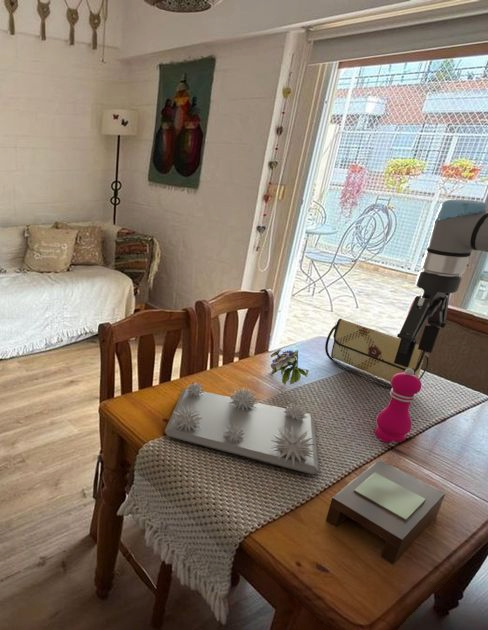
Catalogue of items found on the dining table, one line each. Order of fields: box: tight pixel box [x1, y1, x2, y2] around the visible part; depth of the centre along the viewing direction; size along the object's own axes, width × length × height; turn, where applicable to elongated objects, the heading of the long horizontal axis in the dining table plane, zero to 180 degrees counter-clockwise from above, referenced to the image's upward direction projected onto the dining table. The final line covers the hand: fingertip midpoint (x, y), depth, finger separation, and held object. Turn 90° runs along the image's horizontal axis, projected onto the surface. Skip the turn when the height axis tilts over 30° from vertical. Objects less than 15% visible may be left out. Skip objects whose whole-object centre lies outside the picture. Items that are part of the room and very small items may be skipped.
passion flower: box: [270, 348, 310, 386], centre depth 141 cm, size 11×11×12 cm
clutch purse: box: [324, 318, 430, 390], centre depth 142 cm, size 30×7×15 cm, turn 27°
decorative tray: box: [164, 381, 320, 475], centre depth 114 cm, size 35×26×10 cm
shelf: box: [325, 459, 446, 565], centre depth 87 cm, size 12×20×6 cm, turn 124°
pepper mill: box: [374, 369, 423, 444], centre depth 110 cm, size 7×7×20 cm
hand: (413, 357), depth 105 cm, fingers open, 13 cm apart
